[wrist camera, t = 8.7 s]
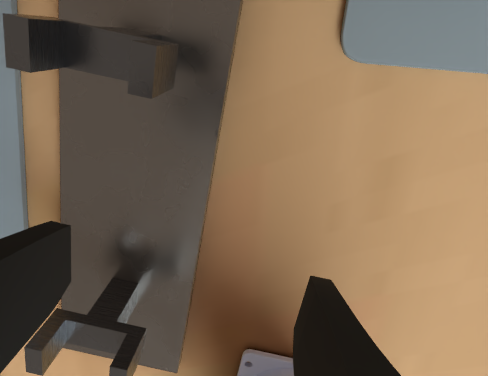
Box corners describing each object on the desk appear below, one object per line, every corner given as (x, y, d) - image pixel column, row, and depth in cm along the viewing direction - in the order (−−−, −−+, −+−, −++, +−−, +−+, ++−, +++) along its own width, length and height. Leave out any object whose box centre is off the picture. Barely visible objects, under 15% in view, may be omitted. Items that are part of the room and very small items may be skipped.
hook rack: (180, 363, 25) (148, 467, 19) (68, 338, 25) (1, 433, 19) (257, -83, 15) (240, -165, 9) (68, -123, 15) (-76, -231, 9)
